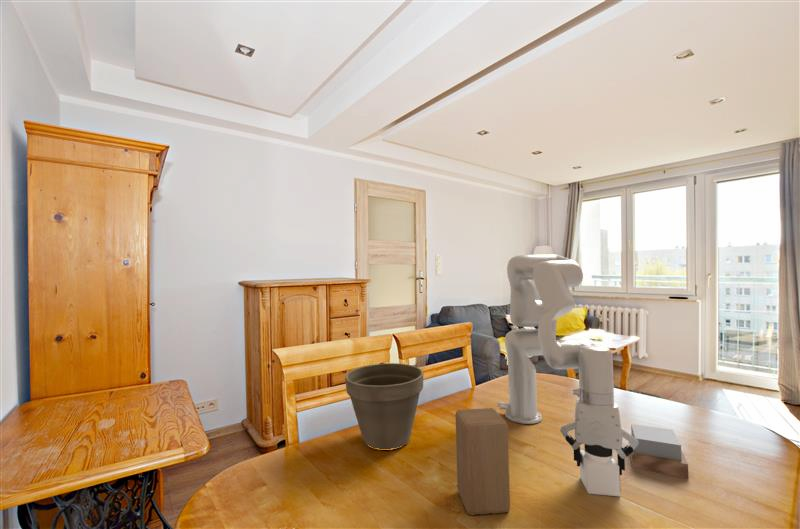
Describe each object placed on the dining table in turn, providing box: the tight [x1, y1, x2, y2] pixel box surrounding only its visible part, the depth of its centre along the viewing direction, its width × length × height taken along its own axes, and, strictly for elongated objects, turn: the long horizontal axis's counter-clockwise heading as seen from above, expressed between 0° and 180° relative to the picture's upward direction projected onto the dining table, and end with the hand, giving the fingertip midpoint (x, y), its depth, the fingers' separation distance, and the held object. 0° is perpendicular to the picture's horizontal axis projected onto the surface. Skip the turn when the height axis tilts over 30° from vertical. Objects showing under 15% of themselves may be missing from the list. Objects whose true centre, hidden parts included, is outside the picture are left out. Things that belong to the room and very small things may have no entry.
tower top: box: [630, 423, 682, 461], centre depth 102 cm, size 10×10×4 cm
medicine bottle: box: [579, 444, 622, 497], centre depth 91 cm, size 7×7×12 cm
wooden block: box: [455, 407, 511, 516], centre depth 86 cm, size 10×10×20 cm
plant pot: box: [344, 362, 424, 449], centre depth 118 cm, size 25×25×22 cm
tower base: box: [628, 441, 689, 479], centre depth 101 cm, size 12×12×4 cm
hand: (598, 467), depth 90 cm, fingers closed on medicine bottle, 8 cm apart
